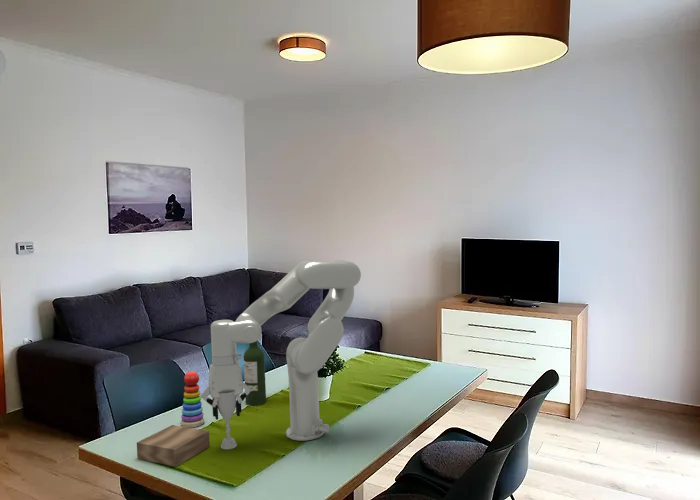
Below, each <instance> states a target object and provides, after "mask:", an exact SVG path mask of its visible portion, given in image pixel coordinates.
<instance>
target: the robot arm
mask: <svg viewBox="0 0 700 500" xmlns="http://www.w3.org/2000/svg"><path fill="white" fill-rule="evenodd" d="M361 276H362V273H361V270H360V267H359V266H358V265H357V264H356V263H354V262H353V261H352V262H351V261H347V260H343V259H336V260H333V261H331V262H330V261H329V262H326V261H324V262H323V261H313V260H308V259H307V260H306V259H305V260H302V261H300V262H299V263H297V264H296V265H295V266H294V267H293V268H292V269H291V270H290V271H289V272H288V273H287V274H286V275H284V277H283V278H282V279H281V280H280V281H278V282H277V283H276V284H275V285H274V286H272V288H271V289H269V290H267V291H266V292H265V293H264V294H262V295H261V296H260V297H258V299H256V300H255V301H254V302H252V303H251V304H250V305H249V306H248V307H247V308H246V309H245V310H244V311H243V312H242V313H240V314H239V316H238V317H237V318H236V320H235V321H234V320H231V319H220V320H219V319H218V320H215V321H213V322H212V323H210V340H211V343H210V344H211V356H212V357H211V362H212V363H211V364H210V365H209V370H208V386H207V387H206V388H205V390H204V391H203V392H202V393H200V396H201V400H204V401H205V402H206V403H207V404H208V405H210V406H212V417H215V421H218V420H219V410H218V406H217V401H218V398H219V394H218V393H230V392H233V391H235V392H234V395H235V396H236V407H235V414H236V416H237V417H240V416H241V414H240V413H242V403H243V402H244V400H246V396H247V395H248V394H249V393H250V391H251V389H250V388H249V387H248V386H247V385H246V384H245V382H244V381H243V376H242V371H241V369H242V368H241V364H240V362H239V360H241V359H242V358H243V356H242V354H239V353H238V352H237V344H250V343H253V342H255V341H257V342H258V341H259V339H260V338H261V336H262V331H263V330H262V327H261V326H262V325H263V324H264V323H266V322H267V321H268V320H269V319H271V317H273V316H274V315H277V314H279V313H281V312H284V311H287V310H288V309H291V308H292V306H293V305H294V304H296V303H297V301H299V300H300V299H301V298H302V297H303V296H304V295H305V294H306V293H307V292H309V290H310V289H314V290H316V289H317V290H329V291H328V292H327V295H326V296H325V298H324V299H323V301H322V303H320V305H319V307H318V308H317V309H316V311H315V312H314V313H313V315H312V316H311V317H310V319H309V320H308V323H307V330H308V332H309V335H308V336H307V337H304V336H303V337H302V336H301V337H296V338H293V339H292V340H291V341H290V342H289V343H288V346H287V348H286V352H285V359H286V366H287V367H286V368H287V374H288V391H289V392H288V394H289V396H288V397H289V419H290V426H289V427H288V428H287V429H286V431H285V434H286V437H287V438H288V439H290V440H293V441H298V442H299V441H301V442H303V441H311V440H316V439H319V438H320V437H322V436H324V434H325V433H326V434H329V433H330V424H327V423H325V424H324V423H323V418H320V402H319V401H320V400H319V399H320V398H319V397H320V396H319V378H318V377H319V376H318V372H319V370H321V369H322V367H323V366H324V365H325V364H326V362H327V361H328V359H329V358H330V357H331V355H332V354H333V353H334V351H335V349H336V348H337V347H338V346H339V344H340V342H341V341H342V338H343V335H344V330H345V329H344V325H343V322H342V320H343V318H344V317H345V316H346V314H347V312H348V311H349V310H350V308H351V306H352V304H353V300H354V297H355V286H357V285H358V283H359V282H360V281H361V278H362V277H361ZM209 394H210V397H211V398H212V399H211V398H210V397H209V396H208V395H209Z"/></svg>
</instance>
